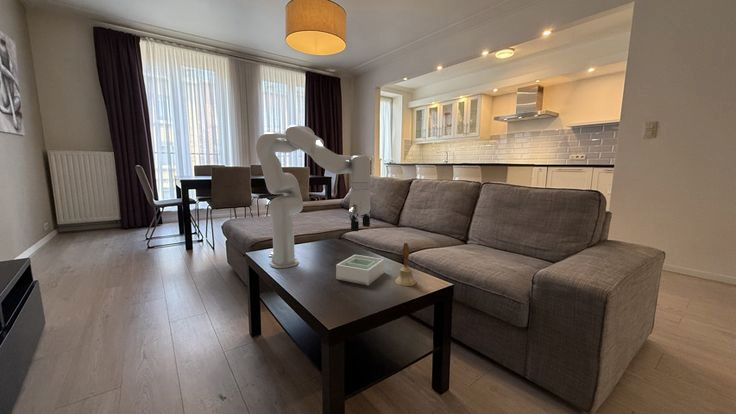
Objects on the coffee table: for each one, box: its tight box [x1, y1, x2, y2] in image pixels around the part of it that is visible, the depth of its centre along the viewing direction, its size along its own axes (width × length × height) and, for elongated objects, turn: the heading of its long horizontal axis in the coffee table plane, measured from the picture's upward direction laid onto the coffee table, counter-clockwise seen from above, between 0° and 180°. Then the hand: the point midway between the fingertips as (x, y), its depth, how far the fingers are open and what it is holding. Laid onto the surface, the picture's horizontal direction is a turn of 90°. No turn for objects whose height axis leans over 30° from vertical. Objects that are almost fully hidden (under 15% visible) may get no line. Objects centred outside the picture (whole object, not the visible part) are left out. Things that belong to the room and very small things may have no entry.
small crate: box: [346, 258, 375, 270], centre depth 126 cm, size 10×7×5 cm
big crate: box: [335, 254, 386, 286], centre depth 126 cm, size 15×16×6 cm
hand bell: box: [394, 242, 417, 287], centre depth 119 cm, size 8×8×16 cm
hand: (360, 228), depth 124 cm, fingers open, 9 cm apart
